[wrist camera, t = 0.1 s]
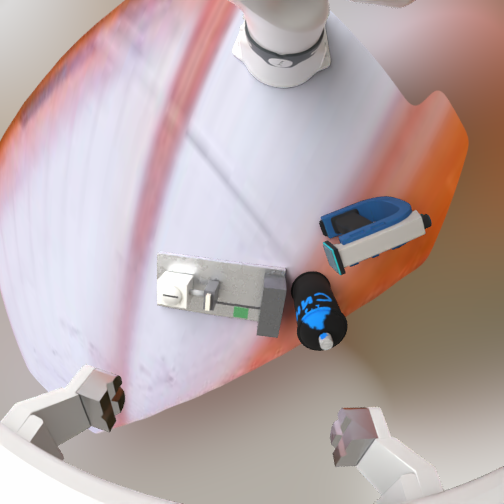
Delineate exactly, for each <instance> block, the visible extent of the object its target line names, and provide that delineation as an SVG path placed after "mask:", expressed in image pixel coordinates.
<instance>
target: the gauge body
mask: <svg viewBox="0 0 504 504" xmlns="http://www.w3.org/2000/svg"><path fill="white" fill-rule="evenodd" d="M193 276H194V275H187V274H181V273H174V272H168V271H165V272H164V273H163V274H162V276H161V277H160V278H159V279H158V280H157V304H163V305H168V306H174V307H179V308H185V309H186V308H187V307H188V305H189V303H190V301H191V299H192V298H193V295H194V296H200V297H204V291H202V290H195V289H193Z"/></svg>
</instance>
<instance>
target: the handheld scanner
mask: <svg viewBox="0 0 504 504" xmlns="http://www.w3.org/2000/svg"><path fill="white" fill-rule="evenodd" d="M321 219H322V220H321V221H320V223H319V224H320V227H321V230H322V232H323V235H325V236H328V237H329V238H333V237H336V236H338V235H341V234H342V235H341V236H339V240H340V244H335V245H333V244H331V243H330V242H329V241H325V242H323V247H324V250H325V253H326V256H327V259H328V261H329V264H330V266H331V267H332V268H333V269H334V270H335V271H336V272H337V273H339V274H340V275H342V274H345V269H344V268H345V267H347V266H350V267H351V266H354V265H357V264H359V263H358V262H360V261H363V260H365V259H368V258H370V257H372V258H374V257H377V256H379V254H380V253H382V252H385V251H387V250H389V249H392V250H394V249H396V248H399V247H401V246H402V245H404V244H406V243H407V242H409V241H410V240H413V239H415V238H417V237H419V236H422V235H424V234H425V229H426V228H428V227H431V224H432V223H431V219H430V217H429V216H428V215H427V214H425V215H423V214H419V213H418V212H417V210H415V211H413V212H412V209H411V205H410V204H409V203H407V202H405V201H403V200H401V199H397V198H394V197H387V196H385V197H376V198H371V199H367V200H363V201H360V202H357V203H355V204H352V205H350V206H347V207H345V208H342V209H339V210H337V211H334V212H332V213H329V214H327V215H324V216H322V217H321ZM373 222H374V223H373Z"/></svg>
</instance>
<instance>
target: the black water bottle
mask: <svg viewBox="0 0 504 504" xmlns="http://www.w3.org/2000/svg"><path fill="white" fill-rule="evenodd" d="M291 294H292V298H293V299H294V305H295V312H296V318H297V325H298V327H297V335H298V339H299V340H300V342H301V343H302V344H303V345H304V346H305V347H307V348H310V349H312V350H318V351H321V350H329V349H330V348H332V347H334V346H336V345H337V344H339V343H340V342H341V341H342V339H343V338H344V337H345V335H346V332H347V320H346V318H345V316H344V315H343V313H341V311H340V308H339V306H338V304H337V302H336V299H335V297H334V295H333V293H332V290H331V288H330V283H329V281H328V279H327V278H326V277H325V276H324V275H323V274H321V273H318V272H306V273H303V274H301V275H300V276H298V277H297V278H296V279H295V281H294V282H293V284H292V288H291Z"/></svg>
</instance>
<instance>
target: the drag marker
mask: <svg viewBox="0 0 504 504" xmlns="http://www.w3.org/2000/svg"><path fill="white" fill-rule="evenodd" d="M218 289H219V281H212V280H209V282H208V284H207V286H206V288H205V290H204V301H203V309H205V310H206V311H209V310H212V311H213V310H214V308H215V305H216V302H217V300H218Z"/></svg>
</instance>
